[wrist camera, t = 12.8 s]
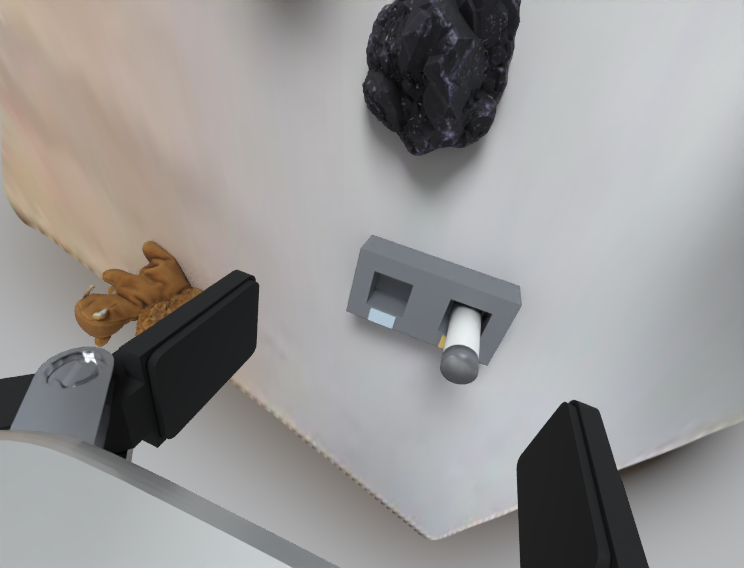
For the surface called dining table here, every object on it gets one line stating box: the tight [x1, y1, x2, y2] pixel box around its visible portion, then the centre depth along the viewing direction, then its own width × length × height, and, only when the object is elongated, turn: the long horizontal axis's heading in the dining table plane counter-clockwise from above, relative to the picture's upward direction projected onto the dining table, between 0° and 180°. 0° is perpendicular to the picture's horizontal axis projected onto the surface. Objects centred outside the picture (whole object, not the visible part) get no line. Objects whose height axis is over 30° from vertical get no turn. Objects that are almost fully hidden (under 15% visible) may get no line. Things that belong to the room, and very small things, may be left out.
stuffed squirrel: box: [75, 241, 203, 347], centre depth 49 cm, size 10×14×13 cm
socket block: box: [346, 235, 522, 366], centre depth 39 cm, size 17×8×4 cm, turn 76°
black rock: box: [362, 0, 521, 156], centre depth 27 cm, size 13×14×10 cm
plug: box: [440, 300, 482, 384], centre depth 35 cm, size 3×3×11 cm
